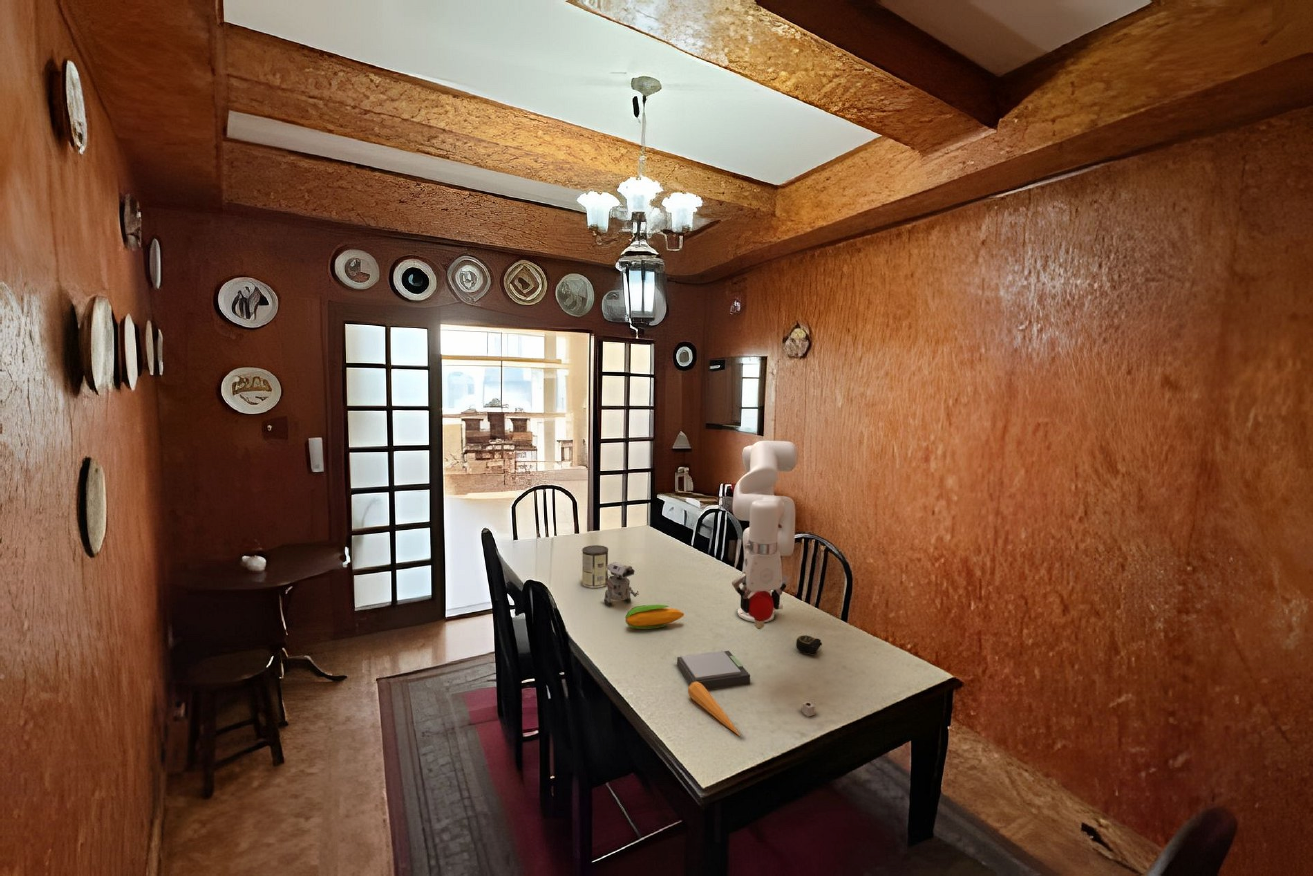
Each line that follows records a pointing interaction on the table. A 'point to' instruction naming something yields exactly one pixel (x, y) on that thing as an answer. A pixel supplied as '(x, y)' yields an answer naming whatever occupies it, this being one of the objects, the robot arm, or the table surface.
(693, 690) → the carrot
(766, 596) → the red rounded piece
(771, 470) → the robot arm
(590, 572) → the coffee can
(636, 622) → the corn
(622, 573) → the figurine
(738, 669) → the scale
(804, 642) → the tape measure
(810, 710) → the white block with hole
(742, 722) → the table surface
